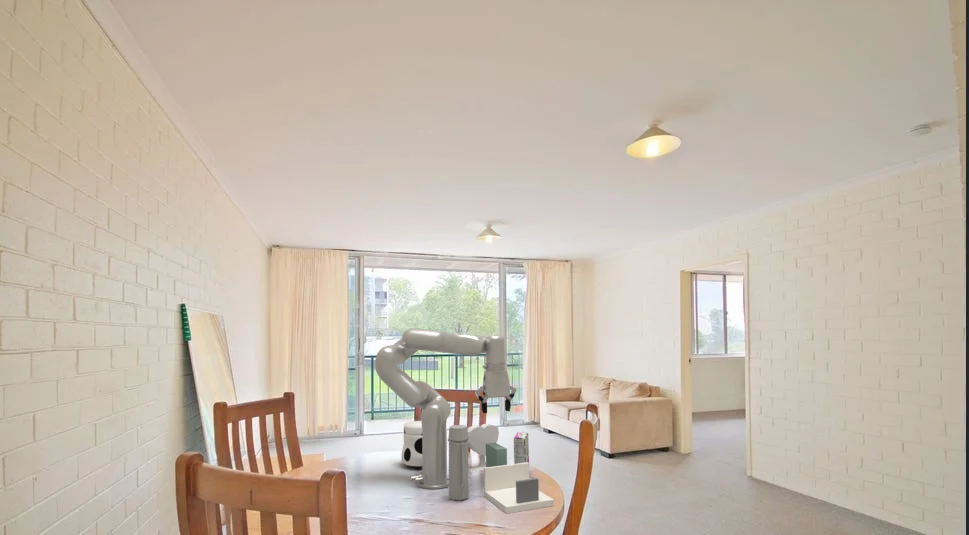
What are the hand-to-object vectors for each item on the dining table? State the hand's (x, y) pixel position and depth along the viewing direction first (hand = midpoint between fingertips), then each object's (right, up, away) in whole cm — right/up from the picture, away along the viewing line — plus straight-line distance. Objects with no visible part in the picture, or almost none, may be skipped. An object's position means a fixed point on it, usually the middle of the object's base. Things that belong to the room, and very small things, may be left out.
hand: (496, 411), depth 206 cm
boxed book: (0, -28, -3) cm, 28 cm away
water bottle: (-13, -27, -17) cm, 34 cm away
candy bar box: (+11, -29, +10) cm, 33 cm away
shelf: (+7, -26, -20) cm, 33 cm away
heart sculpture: (-6, -31, +23) cm, 39 cm away
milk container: (-33, -31, +28) cm, 53 cm away
